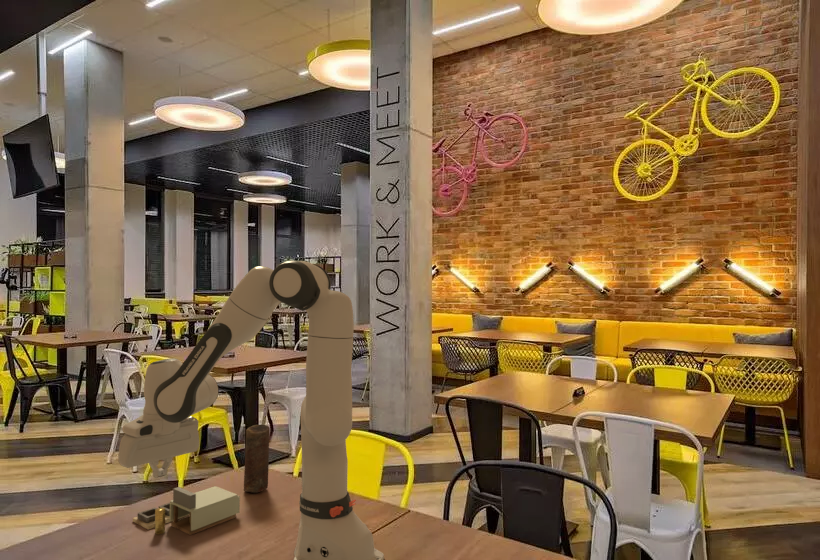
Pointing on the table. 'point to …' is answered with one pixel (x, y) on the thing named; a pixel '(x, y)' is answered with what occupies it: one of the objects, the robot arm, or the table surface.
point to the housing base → (186, 523)
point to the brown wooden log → (256, 458)
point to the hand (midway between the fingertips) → (160, 476)
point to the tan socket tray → (152, 517)
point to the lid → (204, 505)
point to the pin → (160, 521)
